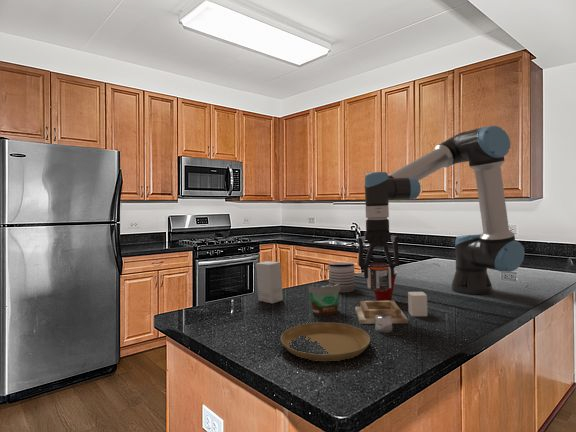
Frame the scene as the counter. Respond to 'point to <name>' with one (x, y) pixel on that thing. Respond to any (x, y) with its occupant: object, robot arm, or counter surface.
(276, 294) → the skincare box
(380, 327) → the small clear jar
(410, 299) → the off-white block
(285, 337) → the plant saucer
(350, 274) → the off-white ribbed cylinder
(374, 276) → the supplement bottle
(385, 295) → the plastic cup
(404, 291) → the counter surface
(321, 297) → the food container
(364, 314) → the tray
